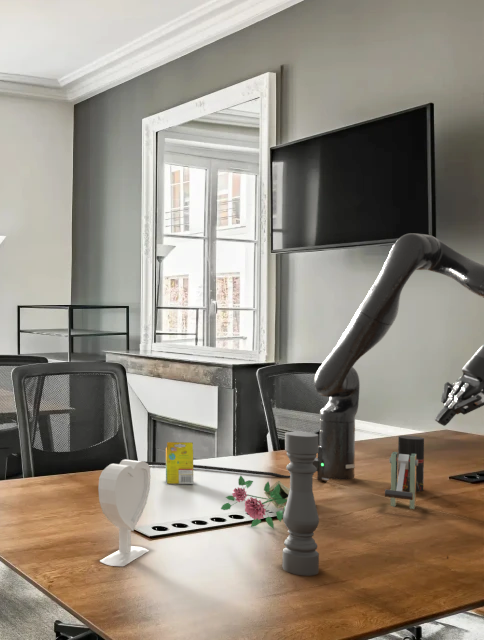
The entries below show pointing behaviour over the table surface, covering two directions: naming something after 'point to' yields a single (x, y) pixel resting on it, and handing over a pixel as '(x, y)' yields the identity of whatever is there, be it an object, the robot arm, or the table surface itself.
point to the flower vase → (255, 510)
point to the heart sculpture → (124, 504)
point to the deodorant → (409, 447)
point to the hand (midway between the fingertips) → (439, 422)
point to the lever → (400, 480)
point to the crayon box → (179, 463)
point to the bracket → (413, 464)
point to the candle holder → (301, 505)
